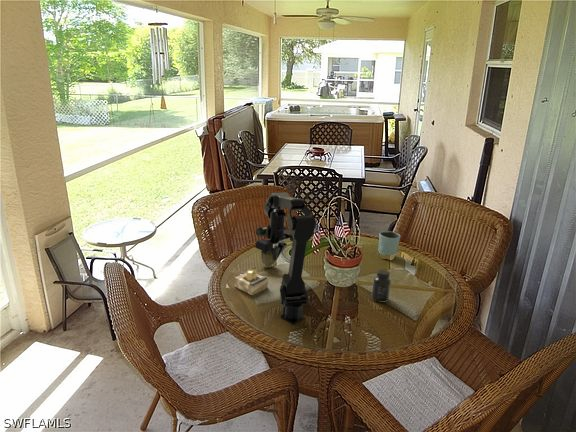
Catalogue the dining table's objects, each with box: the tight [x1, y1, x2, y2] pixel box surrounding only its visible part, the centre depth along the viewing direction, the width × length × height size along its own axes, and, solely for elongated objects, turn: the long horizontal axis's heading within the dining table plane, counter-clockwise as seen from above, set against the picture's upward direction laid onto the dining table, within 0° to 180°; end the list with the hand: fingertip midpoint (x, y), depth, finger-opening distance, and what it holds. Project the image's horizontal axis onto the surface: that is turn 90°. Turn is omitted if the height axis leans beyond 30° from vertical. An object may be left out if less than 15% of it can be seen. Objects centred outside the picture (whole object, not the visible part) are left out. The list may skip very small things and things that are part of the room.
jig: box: [234, 272, 269, 296], centre depth 170 cm, size 10×9×5 cm
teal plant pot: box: [377, 230, 401, 255], centre depth 208 cm, size 10×10×12 cm
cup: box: [260, 250, 276, 269], centre depth 188 cm, size 8×7×8 cm
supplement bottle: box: [371, 269, 392, 302], centre depth 167 cm, size 7×7×12 cm
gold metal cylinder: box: [246, 268, 258, 282], centre depth 170 cm, size 4×4×7 cm
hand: (275, 260), depth 169 cm, fingers closed
